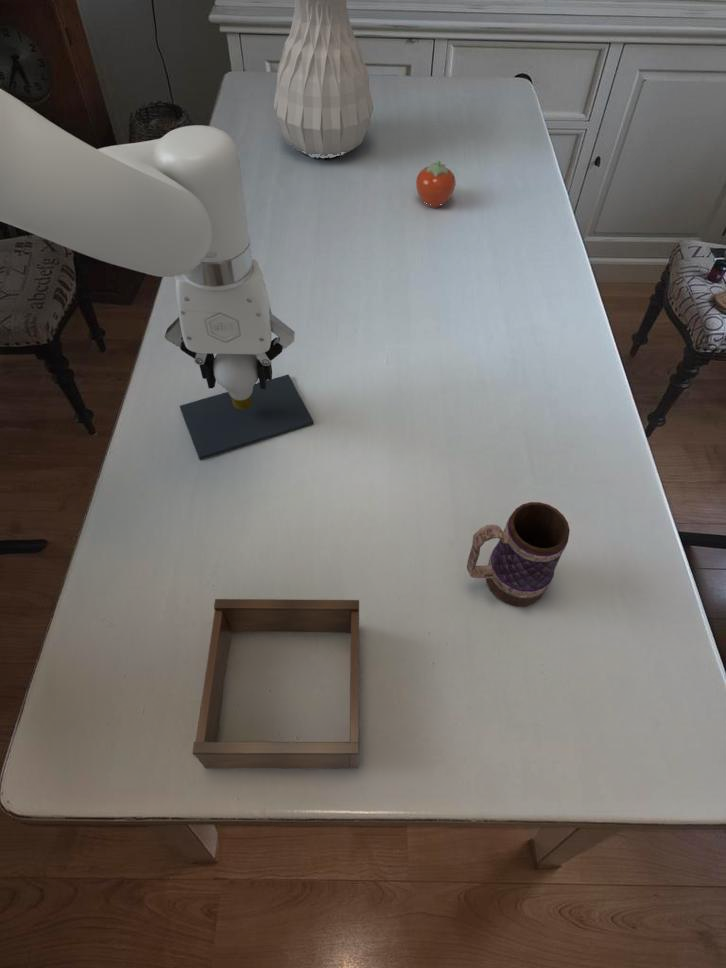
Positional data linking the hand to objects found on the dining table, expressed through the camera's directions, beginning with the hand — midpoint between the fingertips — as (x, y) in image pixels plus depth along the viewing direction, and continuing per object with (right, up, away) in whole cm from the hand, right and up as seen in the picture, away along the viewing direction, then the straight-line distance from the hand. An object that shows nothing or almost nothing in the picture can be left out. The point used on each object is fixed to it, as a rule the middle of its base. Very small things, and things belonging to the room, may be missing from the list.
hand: (238, 380), depth 81 cm
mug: (+32, -25, -8) cm, 41 cm away
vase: (+8, +58, +52) cm, 78 cm away
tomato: (+30, +41, +40) cm, 64 cm away
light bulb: (0, -3, +4) cm, 5 cm away
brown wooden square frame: (+8, -35, -17) cm, 39 cm away
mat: (0, -4, +6) cm, 7 cm away
